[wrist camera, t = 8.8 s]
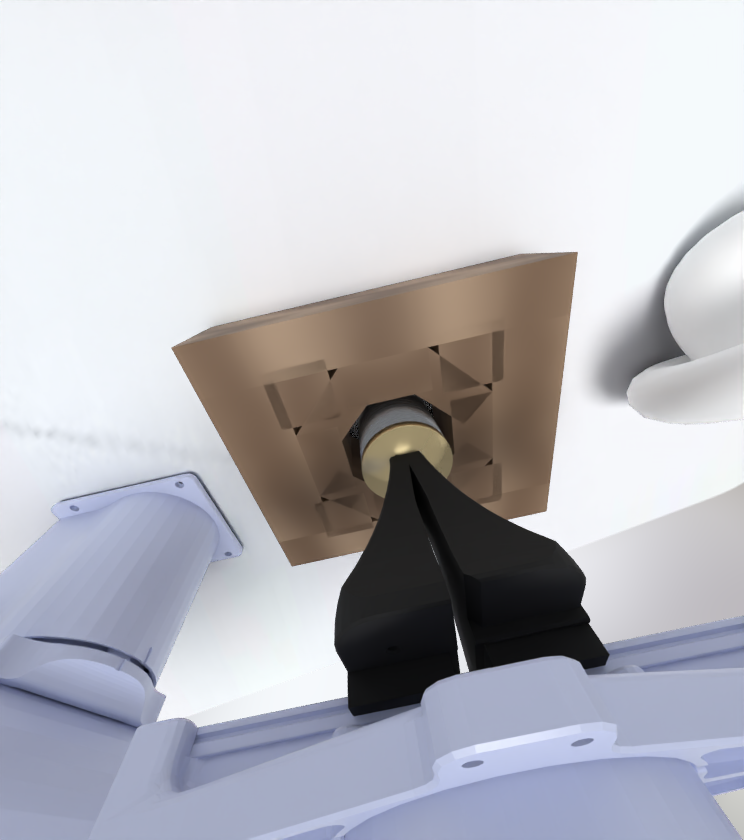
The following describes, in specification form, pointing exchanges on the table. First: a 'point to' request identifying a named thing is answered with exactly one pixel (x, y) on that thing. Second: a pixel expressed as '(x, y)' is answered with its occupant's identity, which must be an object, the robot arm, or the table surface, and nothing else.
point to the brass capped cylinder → (399, 438)
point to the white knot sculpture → (701, 336)
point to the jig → (391, 392)
